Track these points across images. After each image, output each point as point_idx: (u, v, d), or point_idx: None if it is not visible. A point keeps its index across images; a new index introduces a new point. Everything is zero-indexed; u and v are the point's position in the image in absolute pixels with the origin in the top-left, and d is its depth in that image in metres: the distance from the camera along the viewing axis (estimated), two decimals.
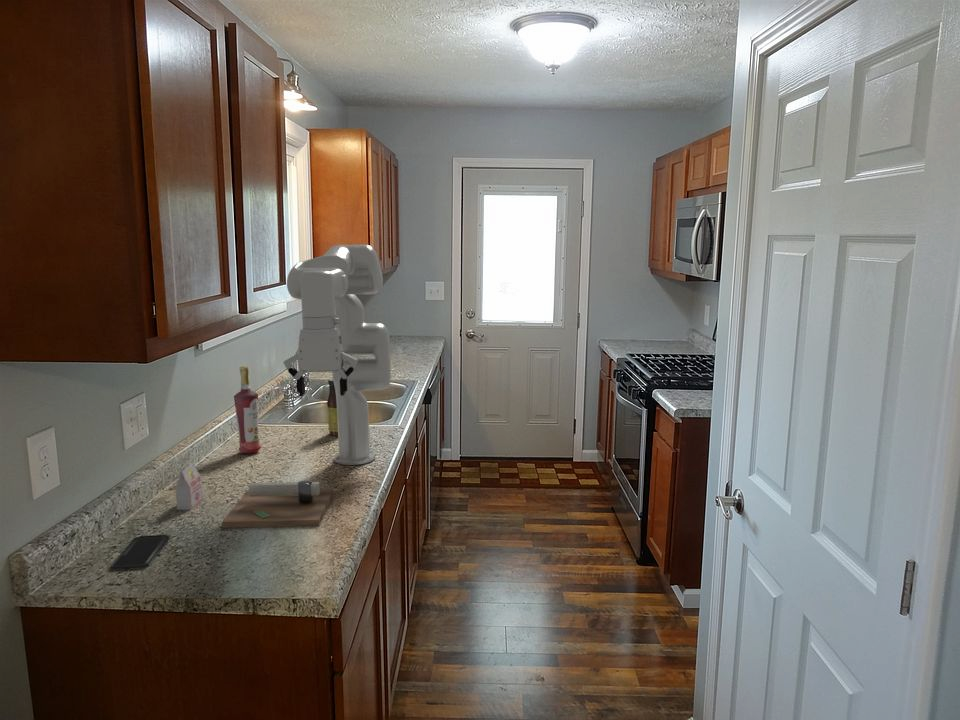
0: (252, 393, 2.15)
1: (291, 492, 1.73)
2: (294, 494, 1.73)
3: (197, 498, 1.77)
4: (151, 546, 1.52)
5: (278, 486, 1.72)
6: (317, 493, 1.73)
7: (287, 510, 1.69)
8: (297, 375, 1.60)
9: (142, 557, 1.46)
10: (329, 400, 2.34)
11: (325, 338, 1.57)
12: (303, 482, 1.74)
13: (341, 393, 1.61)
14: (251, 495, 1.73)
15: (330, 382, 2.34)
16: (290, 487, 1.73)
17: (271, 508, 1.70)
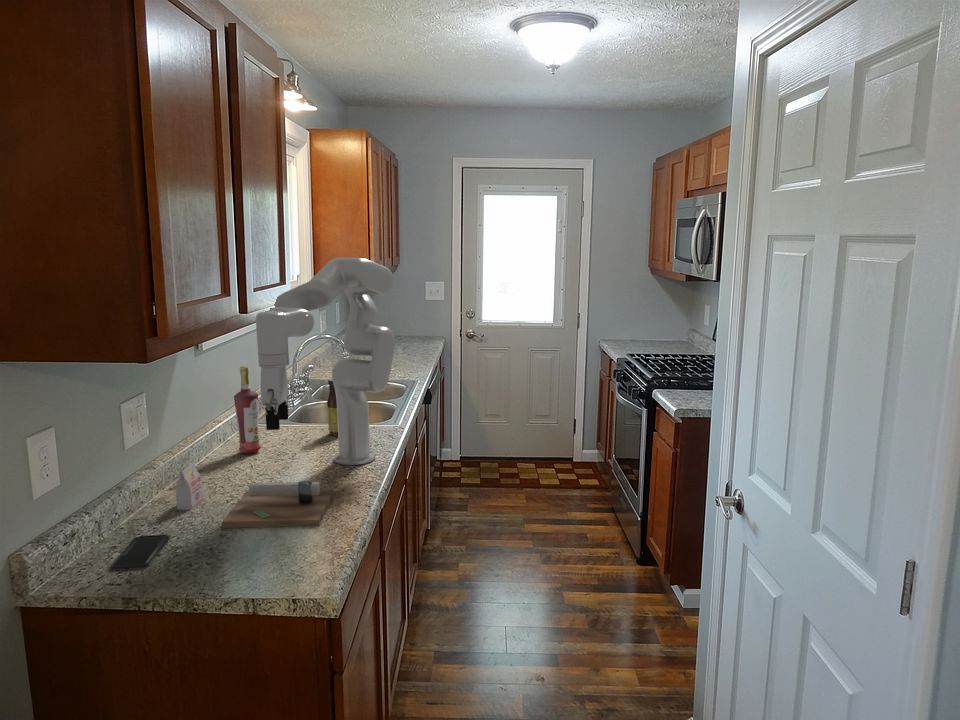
0: (252, 393, 2.15)
1: (291, 492, 1.73)
2: (294, 494, 1.73)
3: (197, 498, 1.77)
4: (151, 546, 1.52)
5: (278, 486, 1.72)
6: (317, 493, 1.73)
7: (287, 510, 1.69)
8: (276, 410, 1.71)
9: (142, 557, 1.46)
10: (329, 400, 2.34)
11: (285, 370, 1.77)
12: (303, 482, 1.74)
13: (287, 417, 1.82)
14: (251, 495, 1.73)
15: (330, 382, 2.34)
16: (290, 487, 1.73)
17: (271, 508, 1.70)
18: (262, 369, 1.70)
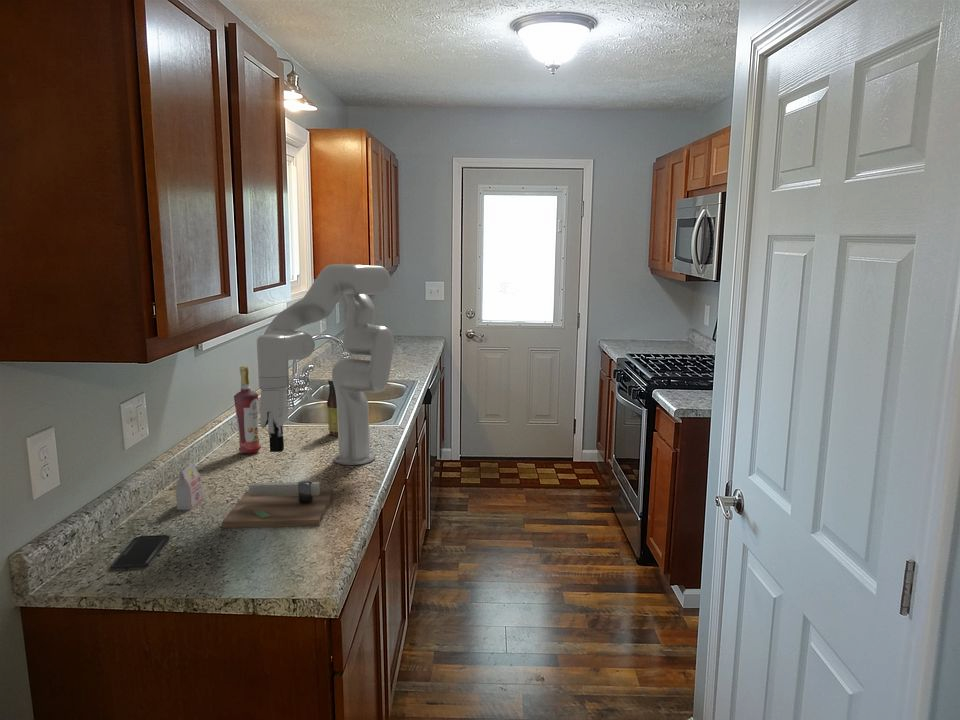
0: (252, 393, 2.15)
1: (291, 492, 1.73)
2: (294, 494, 1.73)
3: (197, 498, 1.77)
4: (151, 546, 1.52)
5: (278, 486, 1.72)
6: (317, 493, 1.73)
7: (287, 510, 1.69)
8: (279, 433, 1.76)
9: (142, 557, 1.46)
10: (329, 400, 2.34)
11: (285, 392, 1.78)
12: (303, 482, 1.74)
13: (283, 448, 1.78)
14: (251, 495, 1.73)
15: (330, 382, 2.34)
16: (290, 487, 1.73)
17: (271, 508, 1.70)
18: (262, 392, 1.71)
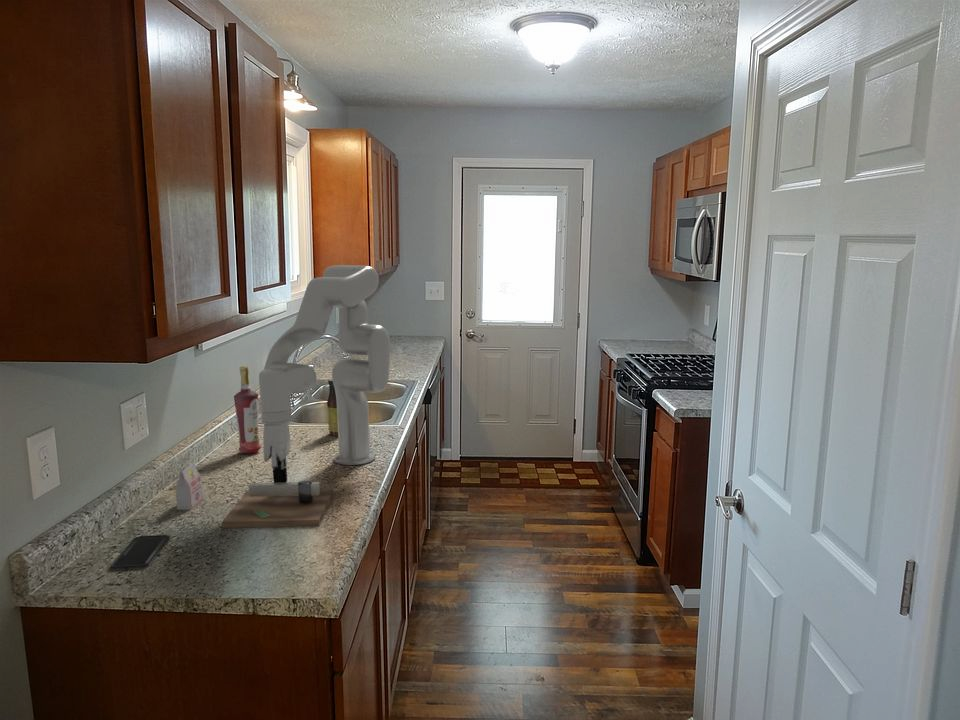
0: (252, 393, 2.15)
1: (291, 492, 1.73)
2: (294, 494, 1.73)
3: (197, 498, 1.77)
4: (151, 546, 1.52)
5: (278, 486, 1.72)
6: (317, 493, 1.73)
7: (287, 510, 1.69)
8: (283, 466, 1.78)
9: (142, 557, 1.46)
10: (329, 400, 2.34)
11: (288, 425, 1.79)
12: (303, 482, 1.74)
13: (286, 480, 1.81)
14: (251, 495, 1.73)
15: (330, 382, 2.34)
16: (290, 487, 1.73)
17: (271, 508, 1.70)
18: (265, 426, 1.73)
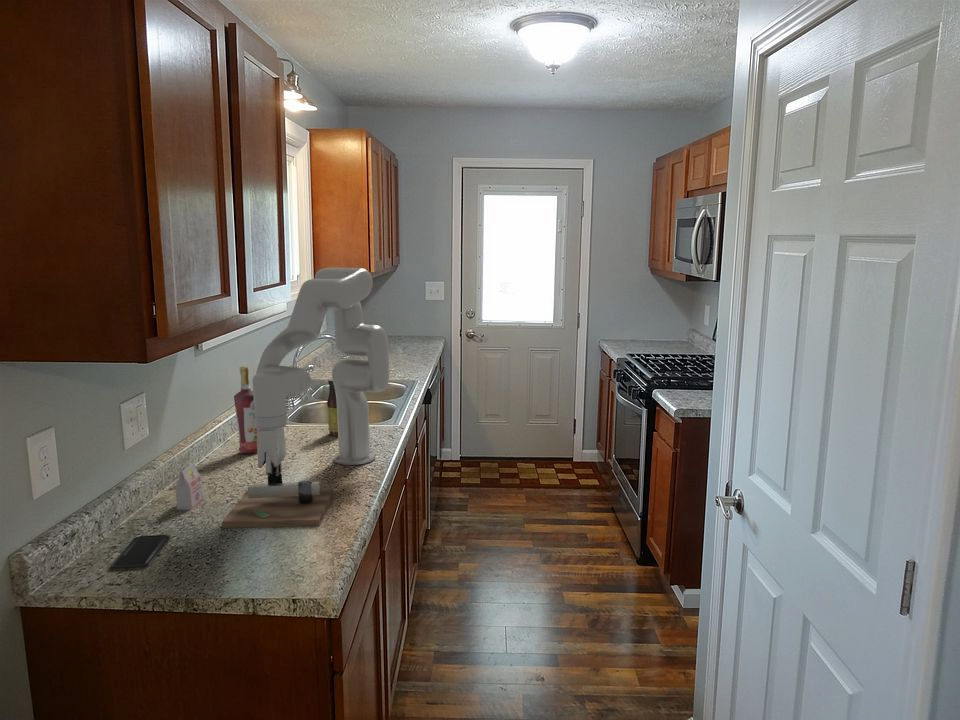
0: (252, 393, 2.15)
1: (291, 492, 1.73)
2: (294, 494, 1.73)
3: (197, 498, 1.77)
4: (151, 546, 1.52)
5: (277, 486, 1.72)
6: (317, 493, 1.73)
7: (287, 510, 1.69)
8: (278, 472, 1.73)
9: (142, 557, 1.46)
10: (329, 400, 2.34)
11: (283, 430, 1.75)
12: (303, 482, 1.74)
13: None
14: (250, 497, 1.71)
15: (330, 382, 2.34)
16: (290, 487, 1.72)
17: (271, 508, 1.70)
18: (259, 432, 1.68)
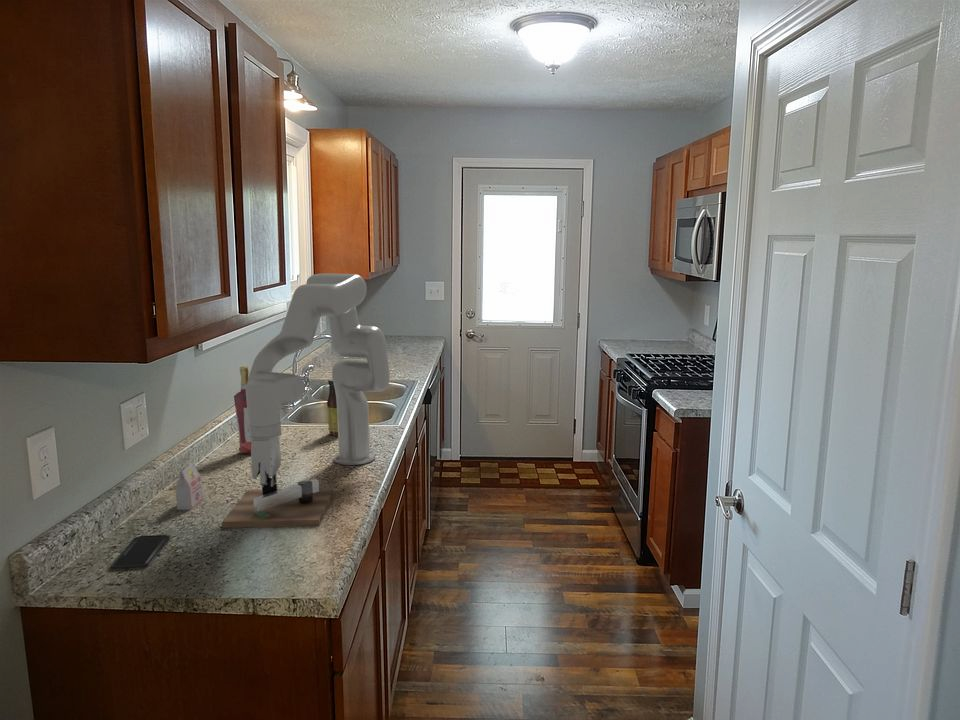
0: None
1: (295, 495, 1.71)
2: (298, 496, 1.71)
3: (197, 498, 1.77)
4: (151, 546, 1.52)
5: (284, 492, 1.68)
6: (317, 489, 1.76)
7: (287, 510, 1.69)
8: (273, 483, 1.67)
9: (142, 557, 1.46)
10: (329, 400, 2.34)
11: (277, 439, 1.69)
12: (301, 483, 1.73)
13: None
14: (259, 509, 1.63)
15: (330, 382, 2.34)
16: (294, 490, 1.70)
17: (271, 508, 1.70)
18: (253, 442, 1.62)
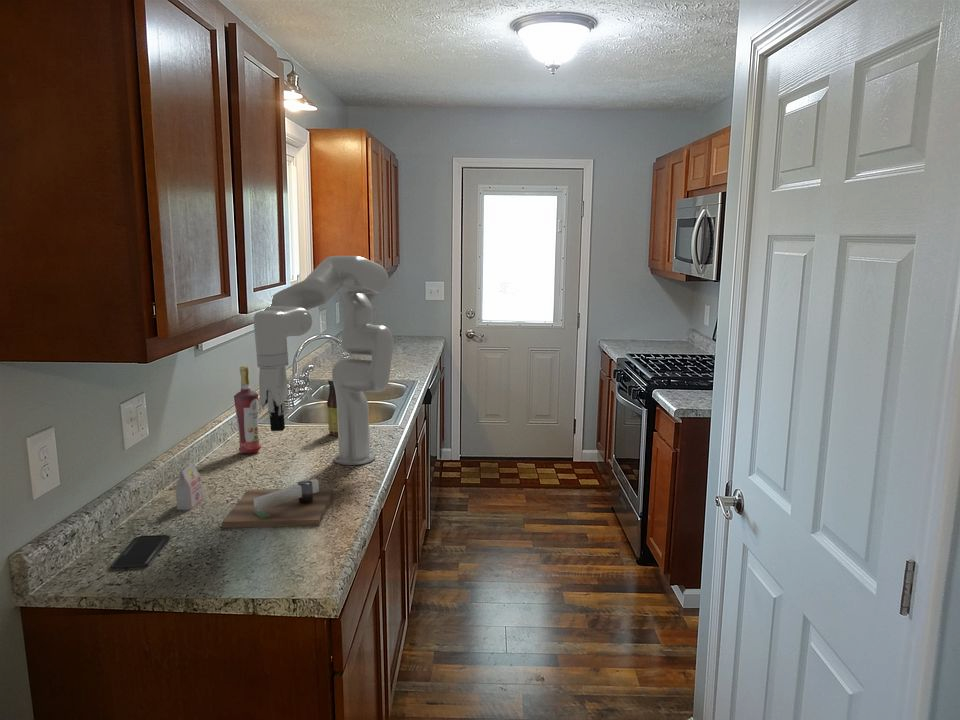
0: (252, 393, 2.15)
1: (295, 495, 1.71)
2: (298, 496, 1.71)
3: (197, 498, 1.77)
4: (151, 546, 1.52)
5: (284, 492, 1.68)
6: (317, 489, 1.76)
7: (287, 510, 1.69)
8: (280, 412, 1.72)
9: (142, 557, 1.46)
10: (329, 400, 2.34)
11: (285, 370, 1.73)
12: (301, 483, 1.73)
13: (284, 427, 1.75)
14: (259, 509, 1.63)
15: (330, 382, 2.34)
16: (294, 490, 1.70)
17: (271, 508, 1.70)
18: (260, 370, 1.67)
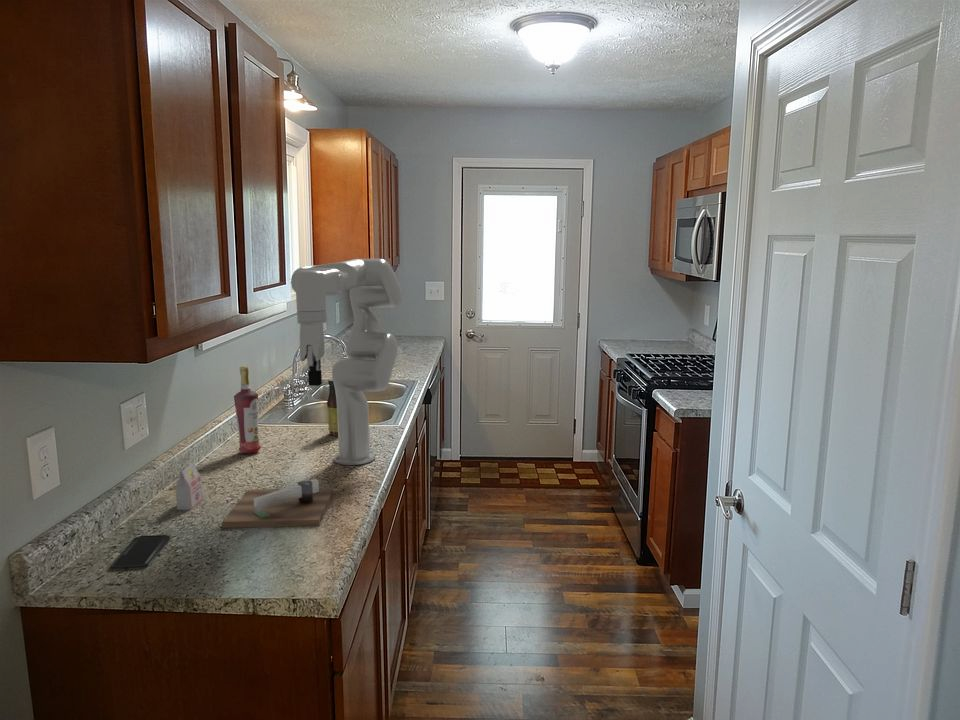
0: (252, 393, 2.15)
1: (295, 495, 1.71)
2: (298, 496, 1.71)
3: (197, 498, 1.77)
4: (151, 546, 1.52)
5: (284, 492, 1.68)
6: (317, 489, 1.76)
7: (287, 510, 1.69)
8: (318, 367, 1.81)
9: (142, 557, 1.46)
10: (329, 400, 2.34)
11: None
12: (301, 483, 1.73)
13: (321, 382, 1.83)
14: (259, 509, 1.63)
15: (330, 382, 2.34)
16: (294, 490, 1.70)
17: (271, 508, 1.70)
18: (301, 325, 1.76)
